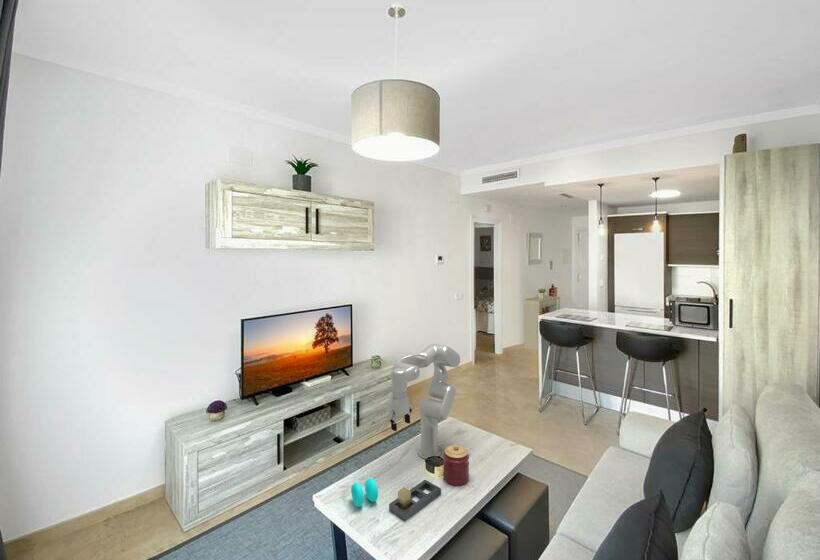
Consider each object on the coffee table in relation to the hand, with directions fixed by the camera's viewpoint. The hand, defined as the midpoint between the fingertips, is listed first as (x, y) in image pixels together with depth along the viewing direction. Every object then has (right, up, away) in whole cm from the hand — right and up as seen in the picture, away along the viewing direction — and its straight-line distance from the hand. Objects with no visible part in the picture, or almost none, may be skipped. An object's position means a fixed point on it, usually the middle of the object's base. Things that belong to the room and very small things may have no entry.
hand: (400, 426), depth 185 cm
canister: (+28, -27, +1) cm, 39 cm away
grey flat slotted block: (+7, -28, -17) cm, 33 cm away
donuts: (-16, -29, -16) cm, 37 cm away
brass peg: (+2, -29, -22) cm, 36 cm away
